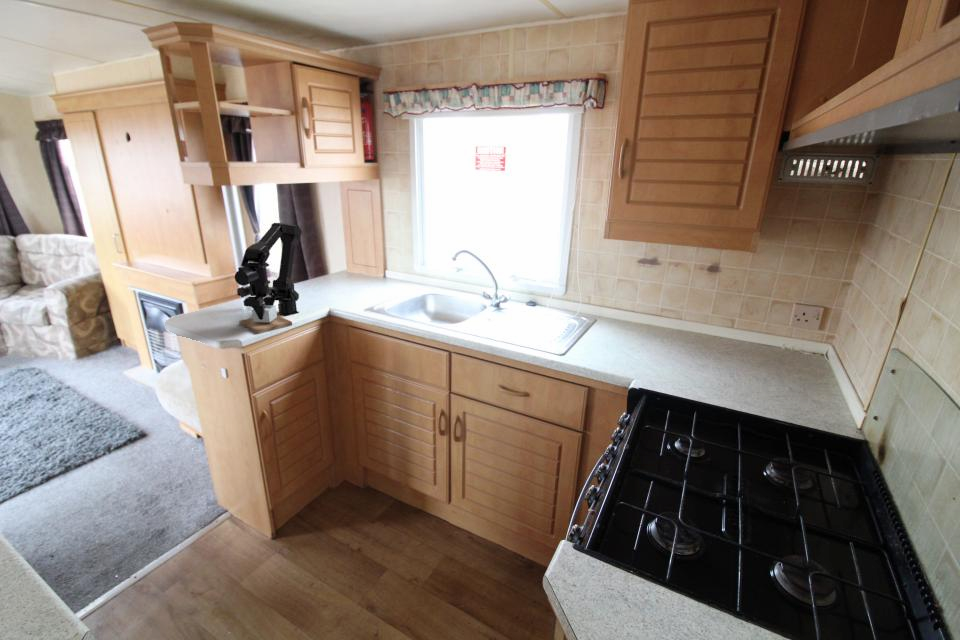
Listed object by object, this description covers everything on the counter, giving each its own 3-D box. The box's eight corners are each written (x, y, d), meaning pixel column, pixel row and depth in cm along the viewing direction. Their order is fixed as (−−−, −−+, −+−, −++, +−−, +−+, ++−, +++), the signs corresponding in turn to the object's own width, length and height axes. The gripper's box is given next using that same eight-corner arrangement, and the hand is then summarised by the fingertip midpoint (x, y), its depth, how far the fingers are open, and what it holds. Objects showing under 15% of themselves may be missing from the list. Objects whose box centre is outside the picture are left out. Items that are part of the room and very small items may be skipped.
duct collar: (261, 316, 187) (259, 305, 186) (277, 317, 187) (275, 305, 186) (253, 321, 181) (251, 310, 180) (269, 322, 181) (268, 310, 180)
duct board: (273, 316, 195) (271, 302, 193) (292, 325, 185) (290, 310, 183) (239, 324, 185) (237, 309, 183) (258, 334, 175) (255, 318, 173)
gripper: (250, 273, 188) (256, 309, 193) (226, 284, 170) (233, 323, 175) (277, 274, 188) (282, 309, 193) (256, 285, 170) (262, 324, 175)
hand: (264, 316), depth 184 cm, fingers closed on duct collar, 7 cm apart
